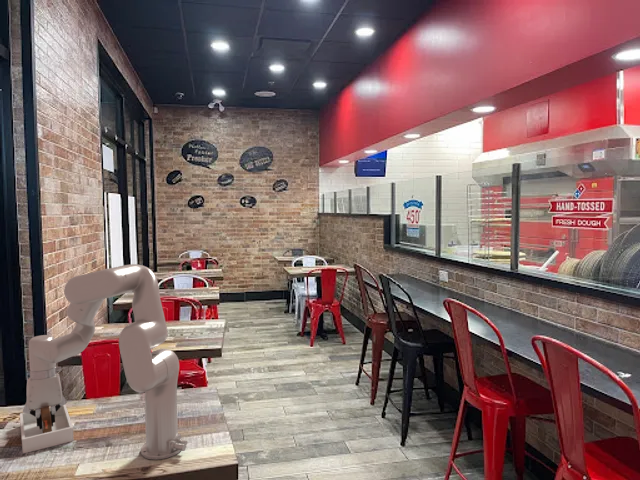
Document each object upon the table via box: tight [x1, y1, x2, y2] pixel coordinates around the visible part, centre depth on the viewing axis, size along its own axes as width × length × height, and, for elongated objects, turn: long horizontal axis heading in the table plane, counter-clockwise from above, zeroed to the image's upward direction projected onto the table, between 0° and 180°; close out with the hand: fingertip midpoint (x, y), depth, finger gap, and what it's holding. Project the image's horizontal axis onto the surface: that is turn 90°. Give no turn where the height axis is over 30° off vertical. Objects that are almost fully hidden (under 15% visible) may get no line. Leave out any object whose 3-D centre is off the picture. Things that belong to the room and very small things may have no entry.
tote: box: [19, 403, 75, 454], centre depth 157 cm, size 22×14×4 cm, turn 34°
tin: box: [40, 406, 52, 433], centre depth 157 cm, size 15×3×8 cm, turn 34°
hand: (46, 425), depth 157 cm, fingers closed on tin, 2 cm apart
